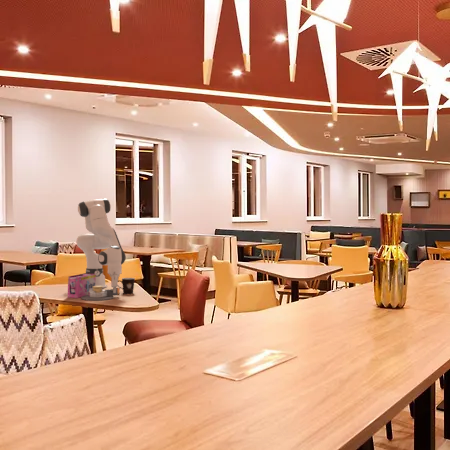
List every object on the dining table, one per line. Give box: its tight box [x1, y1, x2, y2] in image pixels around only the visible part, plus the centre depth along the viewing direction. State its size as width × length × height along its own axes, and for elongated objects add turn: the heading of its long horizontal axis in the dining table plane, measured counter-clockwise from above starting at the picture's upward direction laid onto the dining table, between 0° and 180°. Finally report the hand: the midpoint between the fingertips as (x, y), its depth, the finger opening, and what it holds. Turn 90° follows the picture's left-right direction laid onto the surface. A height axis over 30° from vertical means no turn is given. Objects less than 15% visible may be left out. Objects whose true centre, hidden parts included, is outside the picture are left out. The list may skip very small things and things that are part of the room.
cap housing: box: [80, 286, 114, 302], centre depth 361 cm, size 20×20×8 cm
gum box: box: [67, 272, 96, 299], centre depth 371 cm, size 24×8×14 cm, turn 164°
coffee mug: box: [117, 277, 135, 295], centre depth 384 cm, size 12×9×10 cm
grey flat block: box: [88, 287, 121, 298], centre depth 362 cm, size 20×11×5 cm, turn 116°
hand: (114, 292), depth 363 cm, fingers closed
